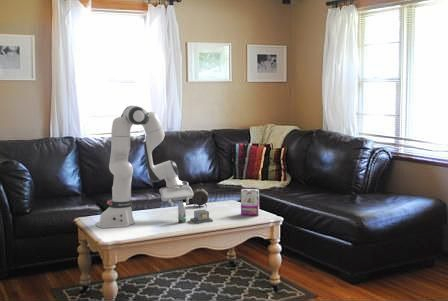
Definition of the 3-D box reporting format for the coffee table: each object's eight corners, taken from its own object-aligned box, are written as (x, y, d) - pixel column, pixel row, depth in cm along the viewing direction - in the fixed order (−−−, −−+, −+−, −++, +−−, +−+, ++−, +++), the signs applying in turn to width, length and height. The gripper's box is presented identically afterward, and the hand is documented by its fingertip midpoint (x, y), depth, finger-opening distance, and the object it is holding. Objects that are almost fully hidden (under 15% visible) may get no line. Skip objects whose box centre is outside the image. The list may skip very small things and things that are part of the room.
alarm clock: (208, 205, 380) (208, 182, 378) (207, 207, 375) (207, 183, 373) (193, 205, 381) (192, 182, 379) (191, 207, 376) (191, 183, 374)
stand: (196, 223, 331) (196, 213, 330) (190, 220, 339) (190, 210, 339) (212, 221, 336) (212, 211, 335) (206, 218, 344) (206, 208, 343)
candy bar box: (259, 214, 354) (259, 189, 352) (258, 216, 349) (258, 190, 347) (242, 213, 356) (242, 188, 354) (240, 215, 352) (240, 189, 350)
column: (179, 223, 331) (179, 204, 330) (177, 221, 335) (176, 202, 334) (187, 222, 333) (186, 203, 332) (184, 221, 337) (183, 201, 336)
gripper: (159, 185, 337) (165, 203, 329) (190, 182, 346) (197, 200, 338) (157, 191, 342) (163, 209, 334) (188, 187, 350) (194, 205, 343)
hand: (180, 204), depth 336 cm, fingers open, 8 cm apart
